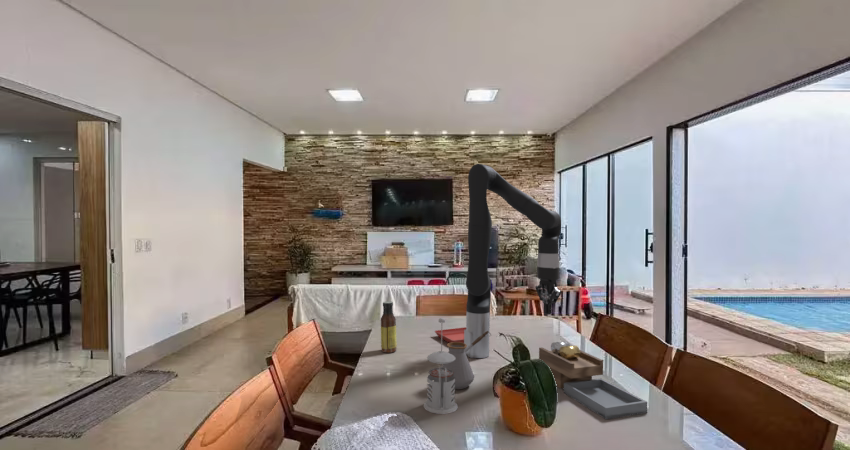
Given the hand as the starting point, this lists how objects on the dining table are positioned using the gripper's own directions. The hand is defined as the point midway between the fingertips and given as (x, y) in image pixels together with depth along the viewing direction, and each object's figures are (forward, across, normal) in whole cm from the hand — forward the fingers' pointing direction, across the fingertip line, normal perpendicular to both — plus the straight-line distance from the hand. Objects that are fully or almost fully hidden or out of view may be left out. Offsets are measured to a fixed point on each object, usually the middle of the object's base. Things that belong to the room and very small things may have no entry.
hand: (547, 314), depth 147 cm
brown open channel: (+20, +13, 0) cm, 24 cm away
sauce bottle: (+20, -36, -50) cm, 65 cm away
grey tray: (+20, +28, 0) cm, 34 cm away
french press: (+20, +18, -47) cm, 54 cm away
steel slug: (+12, +8, 0) cm, 14 cm away
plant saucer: (+20, -44, -15) cm, 51 cm away
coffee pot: (+20, +2, -32) cm, 38 cm away
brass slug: (+12, +14, 0) cm, 18 cm away
